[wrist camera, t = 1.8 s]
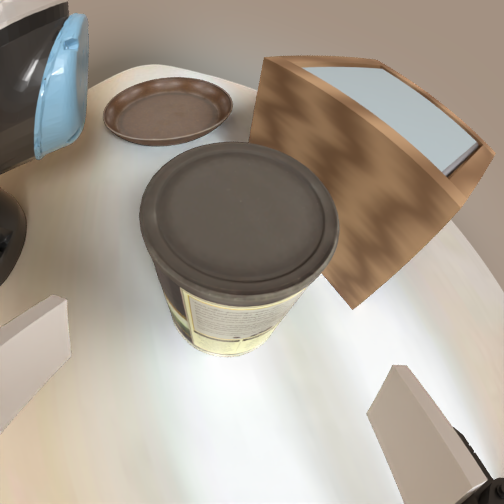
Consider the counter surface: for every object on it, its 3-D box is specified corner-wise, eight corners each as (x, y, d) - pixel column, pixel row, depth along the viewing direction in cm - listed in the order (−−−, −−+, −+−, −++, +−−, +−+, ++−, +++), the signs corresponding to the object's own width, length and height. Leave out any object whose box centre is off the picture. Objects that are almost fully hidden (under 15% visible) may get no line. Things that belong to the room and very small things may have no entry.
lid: (298, 76, 21) (300, 67, 20) (379, 74, 27) (382, 68, 27) (438, 186, 16) (446, 177, 15) (475, 150, 22) (479, 144, 21)
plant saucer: (254, 113, 44) (257, 97, 41) (170, 177, 34) (169, 157, 31) (167, 83, 48) (167, 69, 45) (83, 131, 37) (79, 115, 34)
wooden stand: (241, 183, 34) (264, 57, 20) (340, 146, 42) (376, 59, 28) (352, 310, 27) (461, 208, 13) (429, 232, 35) (495, 153, 21)
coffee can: (147, 315, 24) (98, 219, 12) (212, 239, 29) (220, 122, 17) (242, 381, 22) (283, 347, 10) (298, 291, 28) (362, 194, 16)
